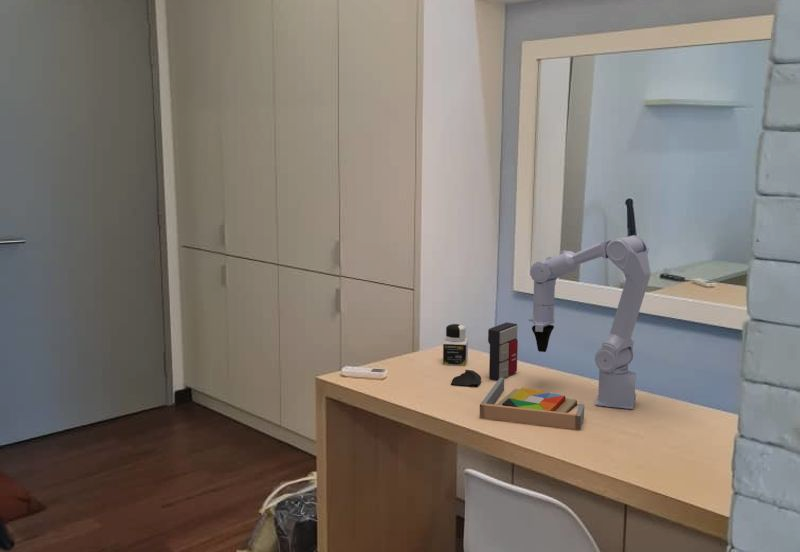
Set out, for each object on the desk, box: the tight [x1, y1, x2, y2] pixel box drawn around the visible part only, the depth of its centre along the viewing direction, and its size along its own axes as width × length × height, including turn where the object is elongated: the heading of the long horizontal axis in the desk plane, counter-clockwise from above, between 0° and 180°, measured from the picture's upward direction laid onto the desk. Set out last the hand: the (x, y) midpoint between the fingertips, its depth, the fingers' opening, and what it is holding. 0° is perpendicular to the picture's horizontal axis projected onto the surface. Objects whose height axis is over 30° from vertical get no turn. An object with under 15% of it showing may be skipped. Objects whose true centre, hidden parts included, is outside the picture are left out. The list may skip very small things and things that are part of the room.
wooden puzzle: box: [495, 387, 578, 413], centre depth 192 cm, size 18×19×4 cm
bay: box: [479, 378, 585, 431], centre depth 192 cm, size 24×24×4 cm
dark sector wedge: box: [450, 369, 482, 389], centre depth 216 cm, size 8×14×2 cm, turn 163°
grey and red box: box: [487, 322, 519, 382], centre depth 218 cm, size 11×4×15 cm, turn 143°
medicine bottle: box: [442, 323, 469, 367], centre depth 233 cm, size 7×7×12 cm
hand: (542, 351), depth 209 cm, fingers closed
